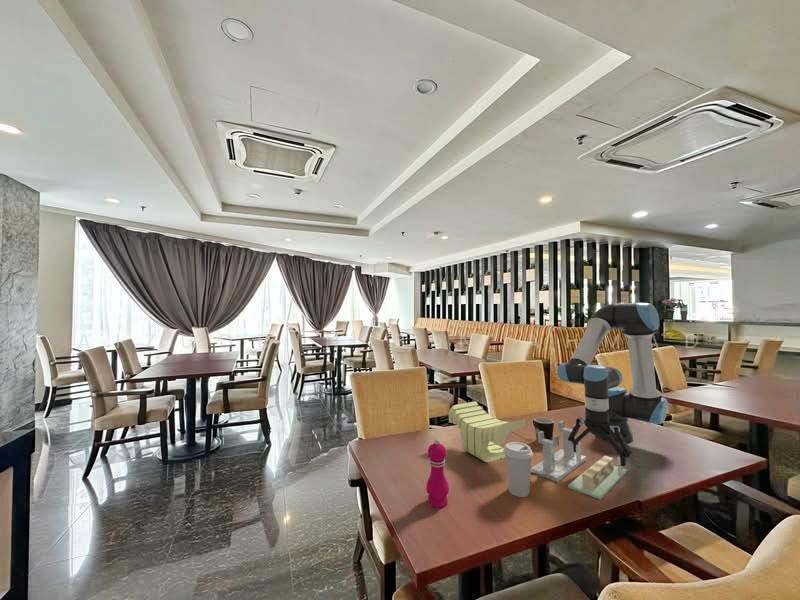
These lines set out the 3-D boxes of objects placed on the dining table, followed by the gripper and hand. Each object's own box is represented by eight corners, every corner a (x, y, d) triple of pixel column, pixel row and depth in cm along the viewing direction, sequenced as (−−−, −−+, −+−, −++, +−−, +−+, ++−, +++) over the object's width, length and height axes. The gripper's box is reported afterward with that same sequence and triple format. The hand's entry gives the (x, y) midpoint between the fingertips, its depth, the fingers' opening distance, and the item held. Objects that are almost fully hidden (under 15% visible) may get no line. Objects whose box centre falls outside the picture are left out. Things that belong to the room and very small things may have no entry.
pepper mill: (424, 496, 110) (424, 435, 110) (446, 495, 110) (445, 434, 111) (428, 509, 102) (427, 444, 103) (451, 508, 103) (450, 442, 104)
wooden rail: (605, 466, 128) (604, 455, 128) (613, 468, 126) (613, 458, 126) (582, 486, 114) (582, 474, 114) (592, 489, 111) (591, 477, 112)
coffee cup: (518, 502, 106) (517, 454, 106) (498, 488, 115) (497, 443, 115) (540, 495, 110) (539, 449, 110) (519, 482, 118) (518, 439, 119)
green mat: (597, 462, 133) (597, 460, 133) (627, 471, 125) (627, 469, 125) (568, 487, 114) (568, 485, 114) (600, 499, 107) (600, 497, 107)
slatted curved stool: (449, 445, 152) (448, 406, 152) (476, 438, 159) (475, 401, 160) (497, 473, 125) (496, 425, 126) (526, 463, 133) (525, 418, 133)
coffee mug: (556, 446, 149) (556, 424, 149) (536, 445, 151) (535, 423, 151) (550, 437, 160) (549, 416, 161) (531, 435, 162) (531, 415, 162)
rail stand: (561, 452, 143) (560, 418, 143) (586, 460, 135) (585, 424, 136) (531, 472, 126) (530, 433, 126) (557, 482, 118) (556, 440, 119)
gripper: (557, 403, 128) (559, 459, 127) (634, 419, 109) (637, 484, 108) (565, 400, 133) (567, 454, 132) (640, 414, 114) (643, 477, 113)
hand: (598, 468), depth 120 cm, fingers open, 13 cm apart
